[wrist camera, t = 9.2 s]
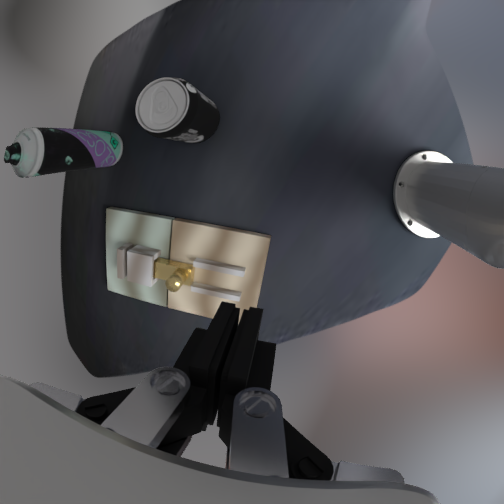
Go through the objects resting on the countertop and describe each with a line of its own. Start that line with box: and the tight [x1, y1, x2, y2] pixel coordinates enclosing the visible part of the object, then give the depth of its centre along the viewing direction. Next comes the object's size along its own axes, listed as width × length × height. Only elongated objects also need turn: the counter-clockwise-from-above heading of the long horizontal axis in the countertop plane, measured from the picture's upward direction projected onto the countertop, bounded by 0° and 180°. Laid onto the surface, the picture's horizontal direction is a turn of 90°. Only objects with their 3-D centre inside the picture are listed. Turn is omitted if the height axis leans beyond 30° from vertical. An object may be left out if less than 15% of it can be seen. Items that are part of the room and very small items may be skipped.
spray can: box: [4, 128, 123, 178], centre depth 26 cm, size 6×6×20 cm
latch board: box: [106, 207, 271, 324], centre depth 38 cm, size 25×14×5 cm, turn 80°
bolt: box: [153, 257, 195, 292], centre depth 37 cm, size 10×2×5 cm, turn 80°
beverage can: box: [135, 78, 220, 143], centre depth 28 cm, size 7×7×12 cm
